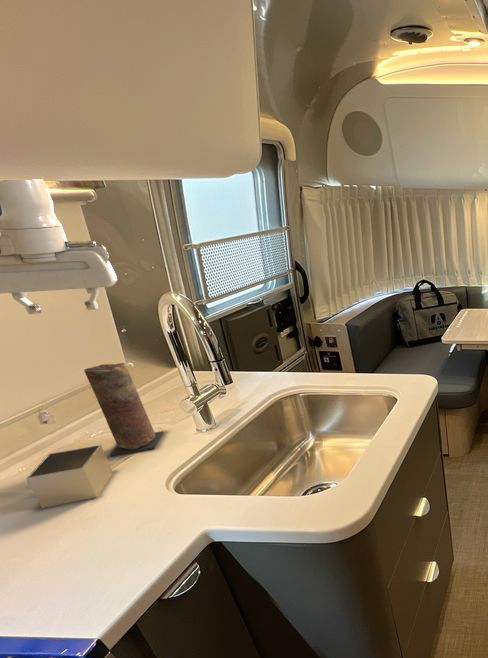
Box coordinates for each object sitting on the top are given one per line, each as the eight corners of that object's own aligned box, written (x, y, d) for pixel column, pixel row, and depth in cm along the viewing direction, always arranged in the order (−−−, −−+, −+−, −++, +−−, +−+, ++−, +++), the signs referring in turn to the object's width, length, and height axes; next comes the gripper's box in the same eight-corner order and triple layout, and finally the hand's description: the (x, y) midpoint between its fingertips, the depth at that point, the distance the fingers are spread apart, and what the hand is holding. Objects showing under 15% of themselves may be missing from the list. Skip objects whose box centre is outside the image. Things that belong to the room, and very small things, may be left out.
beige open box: (42, 508, 94) (26, 478, 91) (63, 481, 102) (48, 453, 99) (96, 497, 97) (83, 467, 94) (113, 472, 105) (101, 444, 102)
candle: (109, 447, 114) (75, 369, 106) (141, 433, 120) (111, 357, 112) (132, 452, 112) (99, 373, 103) (163, 437, 118) (135, 361, 110)
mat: (111, 456, 111) (110, 454, 111) (122, 439, 118) (122, 438, 118) (154, 448, 114) (154, 446, 114) (163, 432, 121) (163, 431, 121)
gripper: (108, 238, 101) (130, 303, 107) (-23, 242, 94) (8, 312, 99) (97, 242, 96) (121, 310, 102) (-42, 247, 89) (-8, 320, 94)
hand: (64, 311), depth 101 cm, fingers open, 8 cm apart
